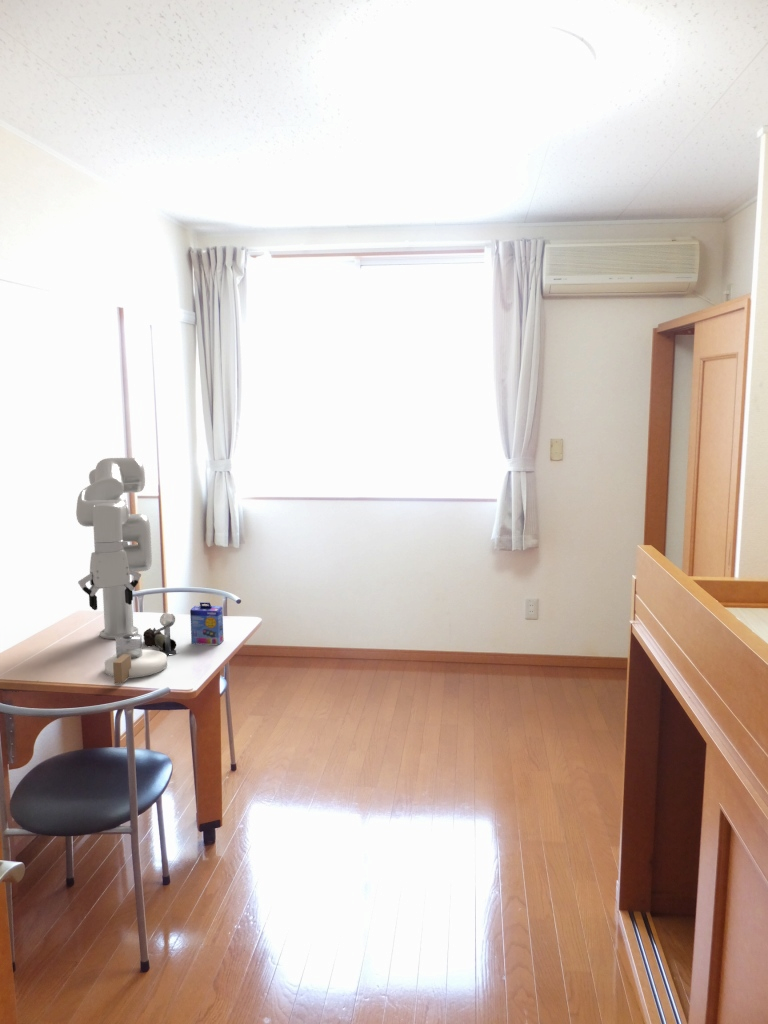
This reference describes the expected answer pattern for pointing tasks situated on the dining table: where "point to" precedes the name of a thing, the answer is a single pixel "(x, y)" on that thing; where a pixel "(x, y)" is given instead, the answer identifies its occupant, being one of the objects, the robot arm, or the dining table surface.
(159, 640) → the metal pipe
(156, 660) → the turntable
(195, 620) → the ink cartridge box
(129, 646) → the silver metal cylinder
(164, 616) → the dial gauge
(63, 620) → the dining table surface
